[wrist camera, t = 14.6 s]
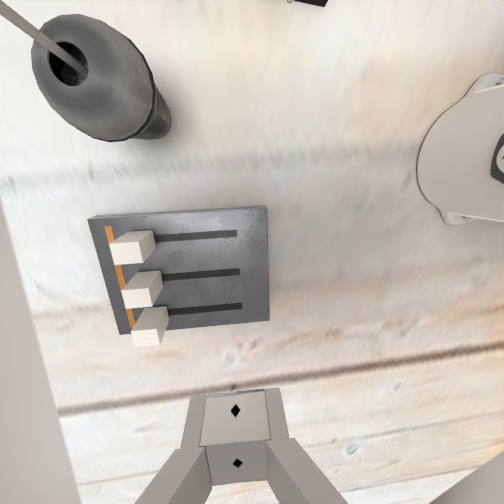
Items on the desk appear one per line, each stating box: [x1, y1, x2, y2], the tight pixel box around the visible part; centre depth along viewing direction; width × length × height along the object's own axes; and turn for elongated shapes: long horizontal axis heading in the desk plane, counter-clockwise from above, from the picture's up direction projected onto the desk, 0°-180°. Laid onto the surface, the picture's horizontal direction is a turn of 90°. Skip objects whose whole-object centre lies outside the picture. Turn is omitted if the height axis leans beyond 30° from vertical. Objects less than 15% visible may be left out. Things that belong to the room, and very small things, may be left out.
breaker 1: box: [109, 230, 156, 265], centre depth 28 cm, size 3×2×5 cm
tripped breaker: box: [131, 306, 169, 347], centre depth 32 cm, size 3×2×5 cm
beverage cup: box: [0, 0, 171, 142], centre depth 19 cm, size 7×7×20 cm
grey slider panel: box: [87, 206, 270, 335], centre depth 34 cm, size 22×17×2 cm
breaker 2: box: [121, 270, 163, 309], centre depth 30 cm, size 3×2×5 cm
